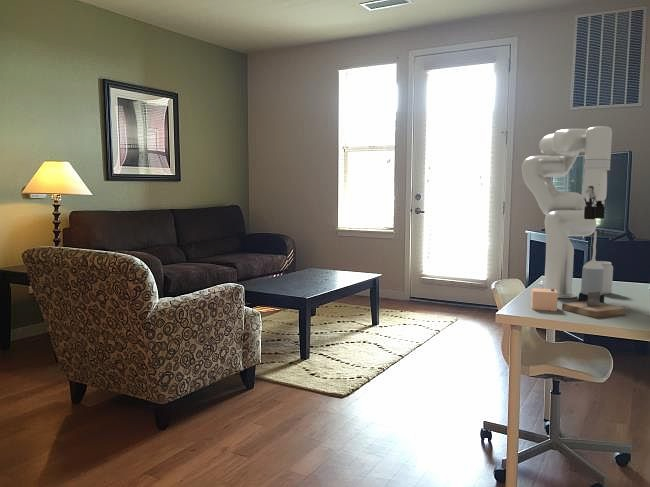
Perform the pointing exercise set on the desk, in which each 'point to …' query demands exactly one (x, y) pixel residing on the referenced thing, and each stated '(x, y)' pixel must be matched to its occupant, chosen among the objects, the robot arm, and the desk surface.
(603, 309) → the stand
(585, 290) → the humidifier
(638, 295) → the desk surface
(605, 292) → the can
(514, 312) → the desk surface
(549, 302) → the light orange block
